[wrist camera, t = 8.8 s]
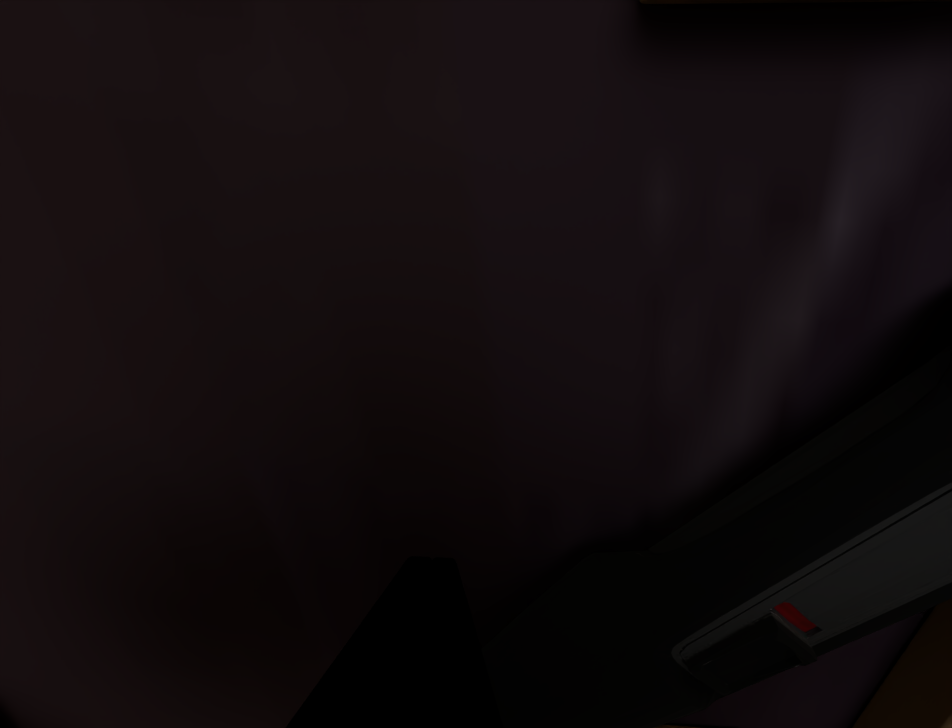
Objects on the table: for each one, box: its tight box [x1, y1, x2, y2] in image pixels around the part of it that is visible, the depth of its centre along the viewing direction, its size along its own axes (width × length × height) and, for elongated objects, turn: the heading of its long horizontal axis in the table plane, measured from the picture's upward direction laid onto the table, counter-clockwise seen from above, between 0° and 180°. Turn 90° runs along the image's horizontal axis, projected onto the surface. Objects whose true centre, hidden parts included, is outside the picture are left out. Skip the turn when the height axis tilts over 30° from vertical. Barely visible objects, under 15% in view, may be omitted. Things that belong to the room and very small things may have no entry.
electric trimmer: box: [481, 345, 952, 728], centre depth 9 cm, size 4×16×3 cm, turn 138°
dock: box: [640, 0, 952, 728], centre depth 9 cm, size 10×19×2 cm, turn 0°
